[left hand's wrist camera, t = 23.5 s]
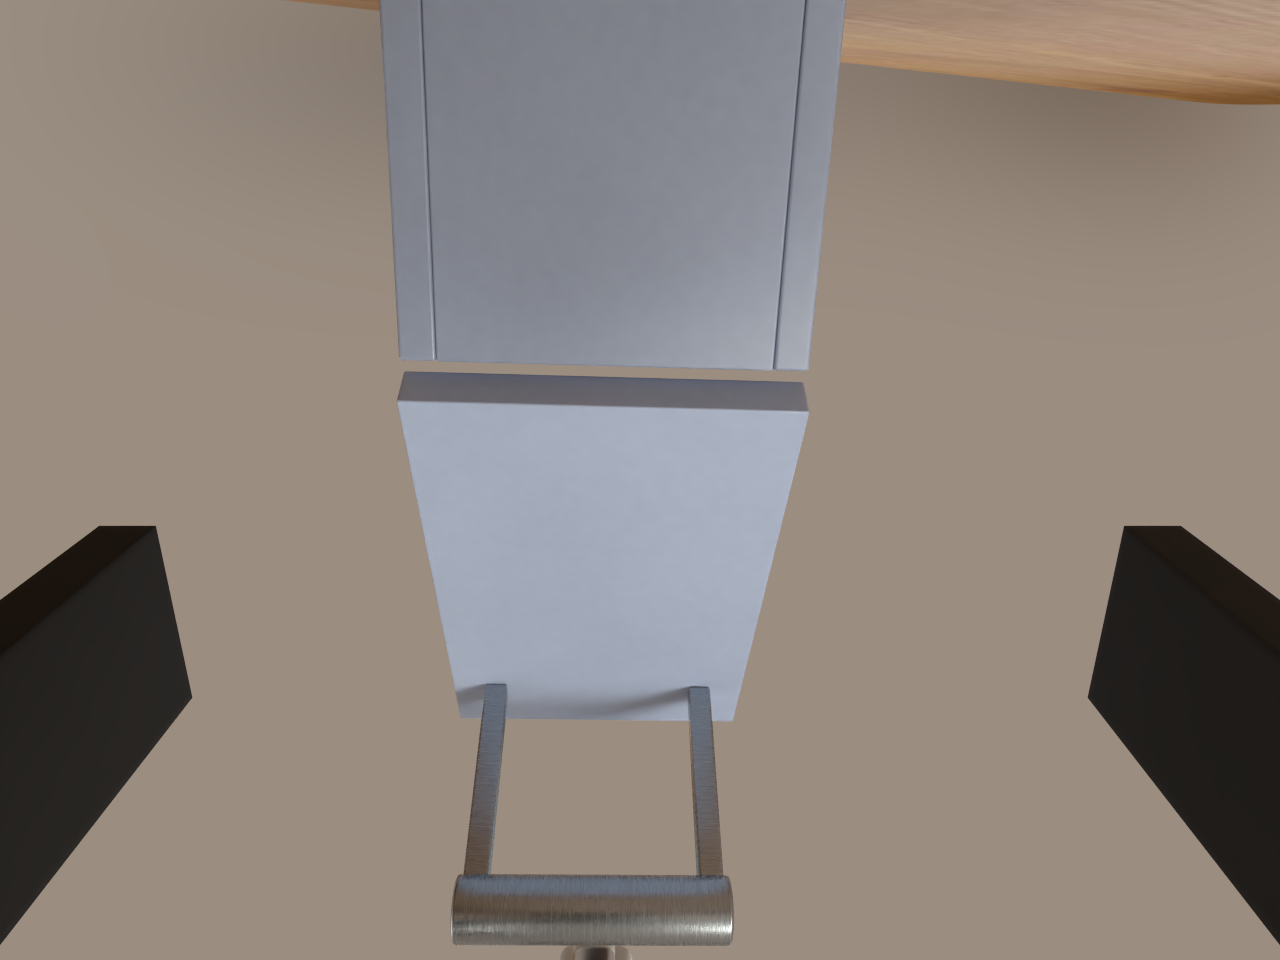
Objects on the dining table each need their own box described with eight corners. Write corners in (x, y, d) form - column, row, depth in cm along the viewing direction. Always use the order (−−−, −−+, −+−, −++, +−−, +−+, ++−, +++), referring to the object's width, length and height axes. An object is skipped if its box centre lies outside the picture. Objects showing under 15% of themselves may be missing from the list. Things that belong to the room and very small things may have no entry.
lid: (730, 694, 33) (754, 965, 27) (464, 691, 32) (427, 966, 26) (803, 381, 22) (872, 719, 16) (403, 370, 21) (317, 713, 15)
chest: (751, 15, 32) (732, 284, 35) (473, 3, 31) (480, 276, 34) (855, -79, 18) (810, 372, 21) (372, -102, 18) (397, 360, 21)
